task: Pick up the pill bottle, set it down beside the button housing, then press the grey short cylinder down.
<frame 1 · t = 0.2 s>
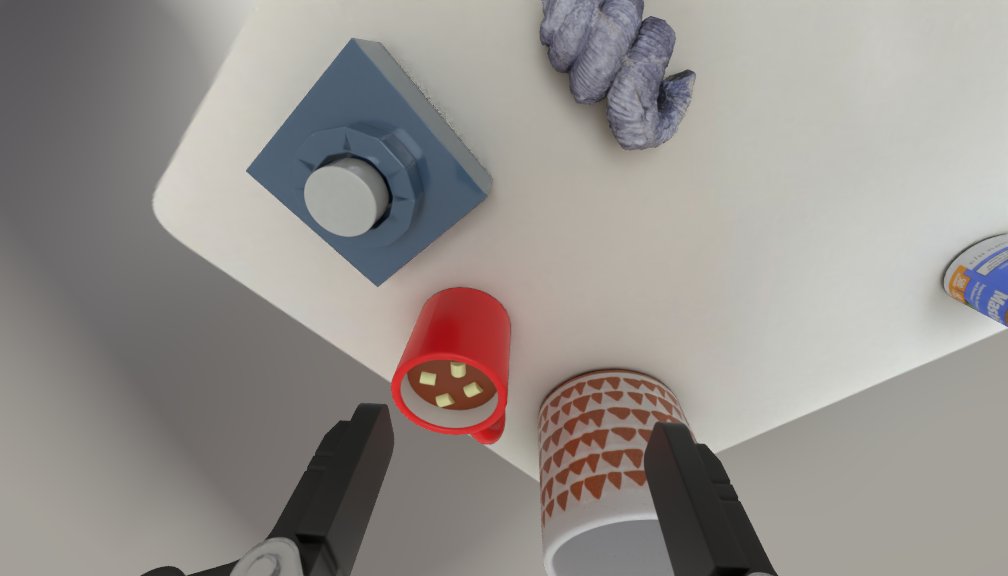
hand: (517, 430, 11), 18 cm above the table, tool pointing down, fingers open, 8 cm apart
seashell: (606, 66, 21), on the table
button housing: (388, 167, 25), on the table
pill bottle: (982, 265, 26), on the table
planter: (606, 416, 36), on the table
mug: (476, 342, 32), on the table
grey short cylinder: (348, 197, 19), point 7 cm above the table, slide at 0.1 cm
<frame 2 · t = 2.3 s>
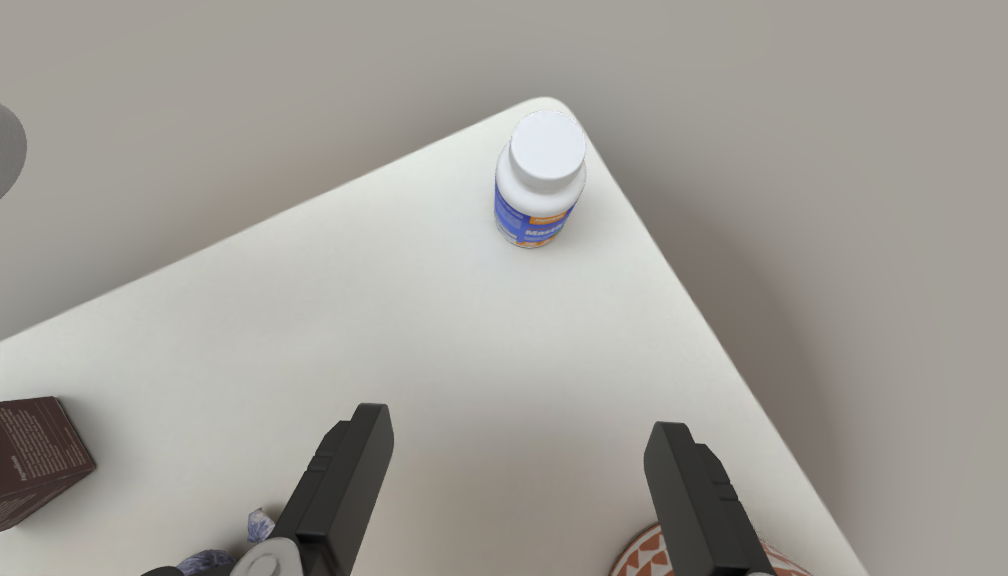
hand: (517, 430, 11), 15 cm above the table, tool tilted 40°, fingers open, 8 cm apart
box: (39, 458, 24), on the table
pill bottle: (528, 216, 28), on the table
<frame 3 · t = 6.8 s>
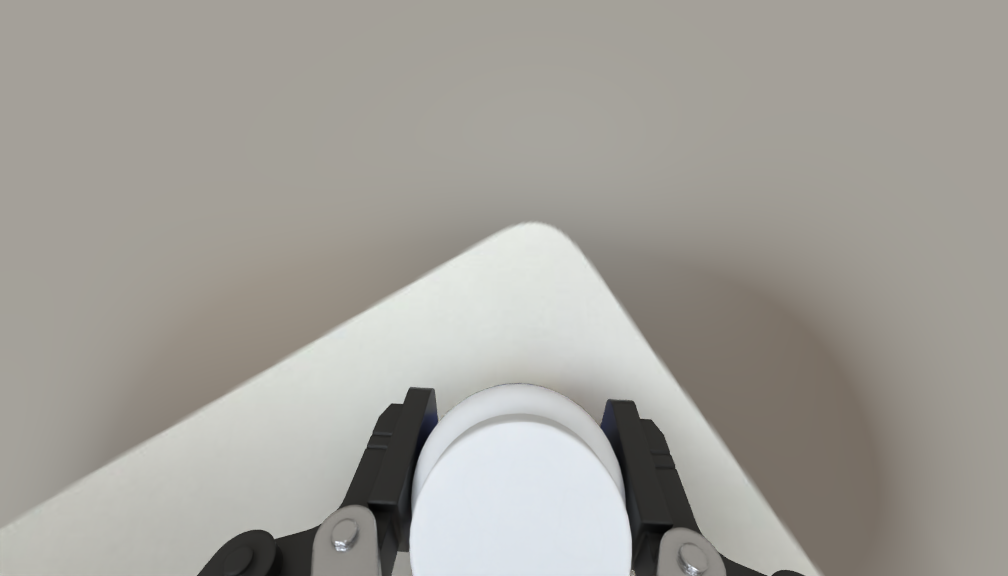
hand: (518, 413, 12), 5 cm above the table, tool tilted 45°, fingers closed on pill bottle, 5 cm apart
pill bottle: (515, 445, 16), on the table, touching gripper
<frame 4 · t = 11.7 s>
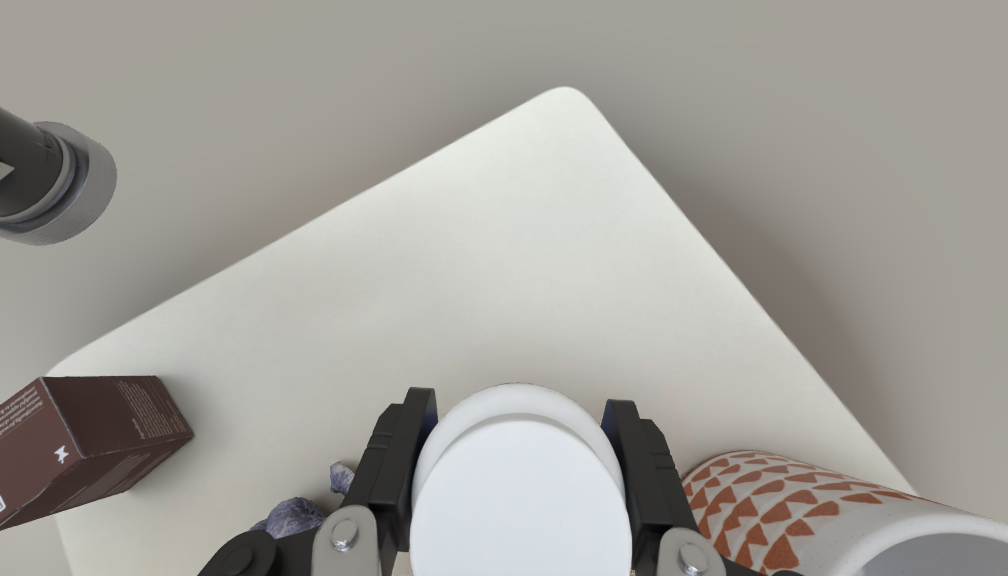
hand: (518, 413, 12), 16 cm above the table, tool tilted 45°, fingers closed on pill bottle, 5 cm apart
box: (145, 431, 27), on the table
seashell: (319, 527, 26), on the table
pill bottle: (515, 445, 16), point 11 cm above the table, touching gripper
planter: (757, 557, 25), on the table
when the fingers open (5 cm above the table, at t = 16.6 s): pill bottle stays where it is, on the table.
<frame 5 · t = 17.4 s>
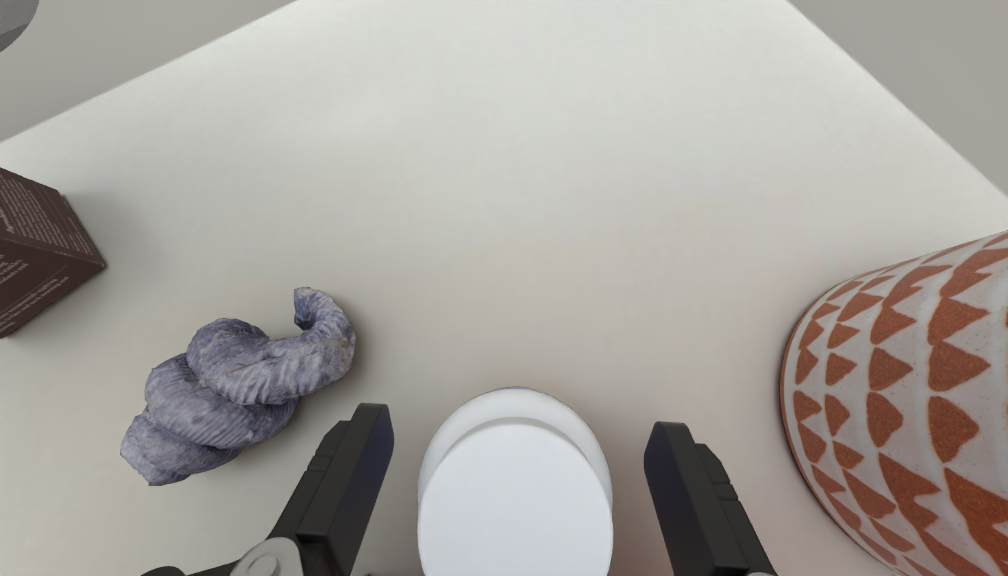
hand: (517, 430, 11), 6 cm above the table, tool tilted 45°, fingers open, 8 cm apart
box: (39, 263, 20), on the table
seashell: (279, 384, 18), on the table
pill bottle: (513, 445, 17), on the table
planter: (924, 416, 17), on the table
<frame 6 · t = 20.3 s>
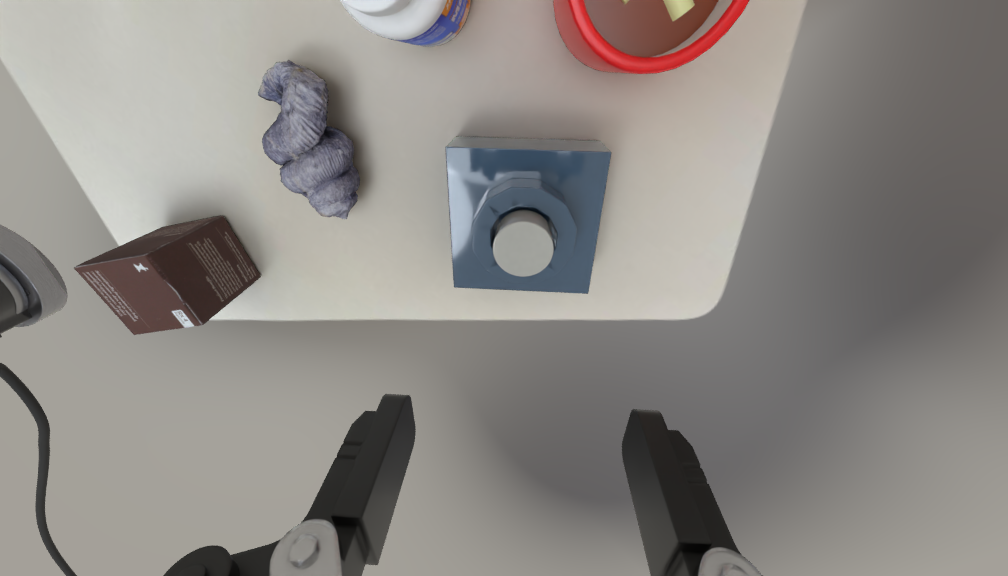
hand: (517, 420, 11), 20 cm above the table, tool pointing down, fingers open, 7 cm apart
box: (217, 251, 32), on the table
seashell: (330, 142, 27), on the table
button housing: (524, 207, 28), on the table
grey short cylinder: (523, 243, 22), point 7 cm above the table, slide at 0.1 cm
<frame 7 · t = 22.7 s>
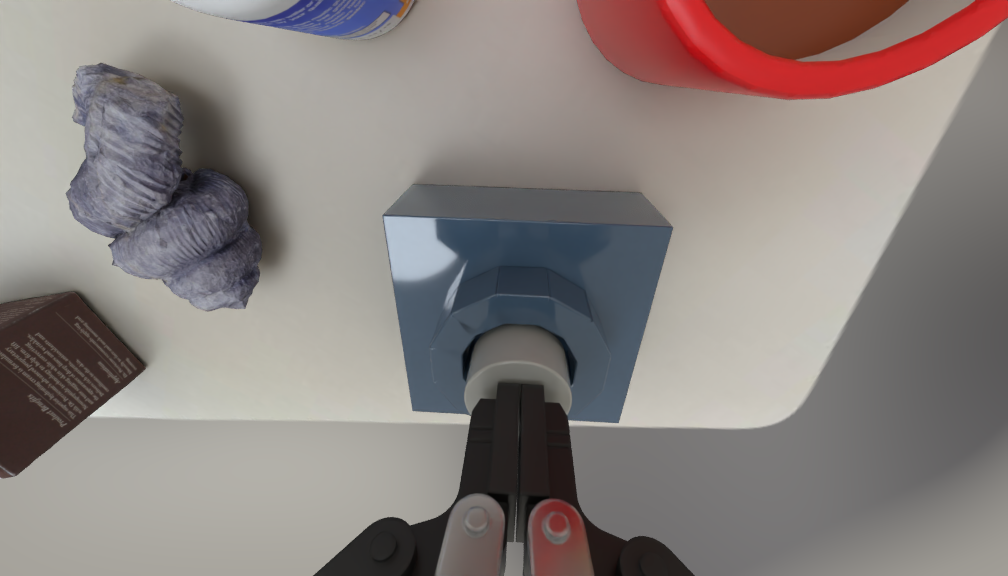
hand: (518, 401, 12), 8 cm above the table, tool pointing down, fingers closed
box: (79, 335, 22), on the table
seashell: (217, 191, 17), on the table
button housing: (520, 286, 19), on the table
grey short cylinder: (518, 379, 13), point 6 cm above the table, slide at 0.0 cm, touching gripper
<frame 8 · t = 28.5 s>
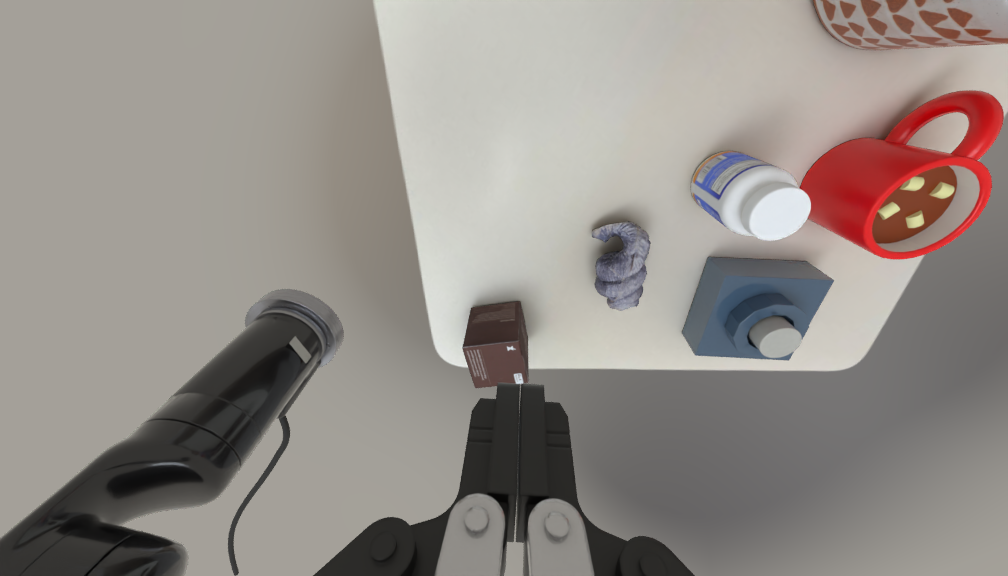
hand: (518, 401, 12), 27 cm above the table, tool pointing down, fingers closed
box: (500, 322, 44), on the table
seashell: (616, 258, 39), on the table
button housing: (739, 299, 40), on the table
pill bottle: (718, 179, 34), on the table
mug: (861, 160, 33), on the table
grey short cylinder: (774, 336, 35), point 7 cm above the table, slide at 0.1 cm
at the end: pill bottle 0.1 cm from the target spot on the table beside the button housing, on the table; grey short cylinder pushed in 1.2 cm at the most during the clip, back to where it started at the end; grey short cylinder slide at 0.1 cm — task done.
